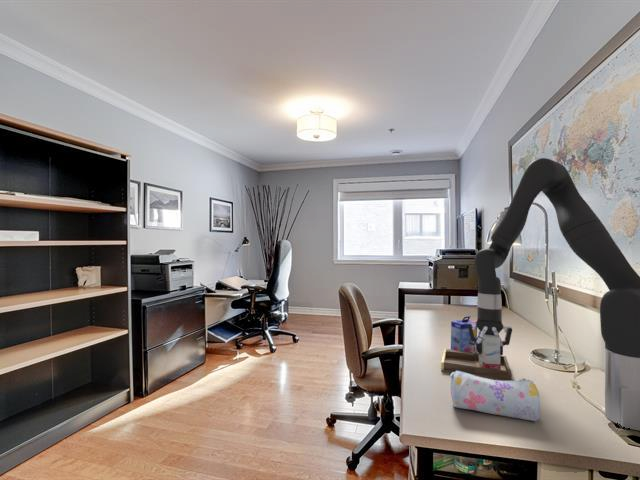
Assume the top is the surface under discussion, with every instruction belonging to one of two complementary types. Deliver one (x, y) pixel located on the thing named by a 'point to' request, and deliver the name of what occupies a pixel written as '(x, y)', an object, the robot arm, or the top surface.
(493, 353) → the ink box
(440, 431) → the top surface
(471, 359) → the wooden tray
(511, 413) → the pencil case
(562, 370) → the top surface
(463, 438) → the top surface
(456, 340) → the ink cartridge box
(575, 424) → the top surface
